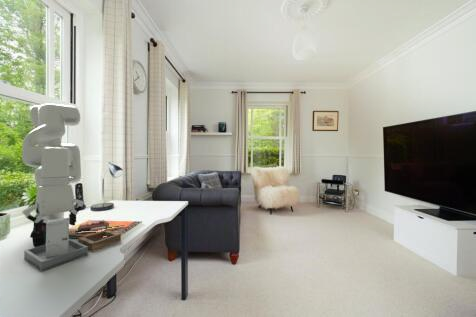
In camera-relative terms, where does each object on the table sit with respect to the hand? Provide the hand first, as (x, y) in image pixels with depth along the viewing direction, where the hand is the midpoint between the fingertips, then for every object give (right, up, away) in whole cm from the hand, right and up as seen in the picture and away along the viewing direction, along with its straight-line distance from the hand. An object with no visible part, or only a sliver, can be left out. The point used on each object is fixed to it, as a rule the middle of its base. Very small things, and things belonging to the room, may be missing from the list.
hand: (56, 228), depth 76 cm
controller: (-13, -10, +8) cm, 18 cm away
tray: (0, -10, 0) cm, 10 cm away
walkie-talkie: (-2, -10, +28) cm, 30 cm away
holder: (+9, -10, +11) cm, 17 cm away
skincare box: (+1, -9, 0) cm, 9 cm away
